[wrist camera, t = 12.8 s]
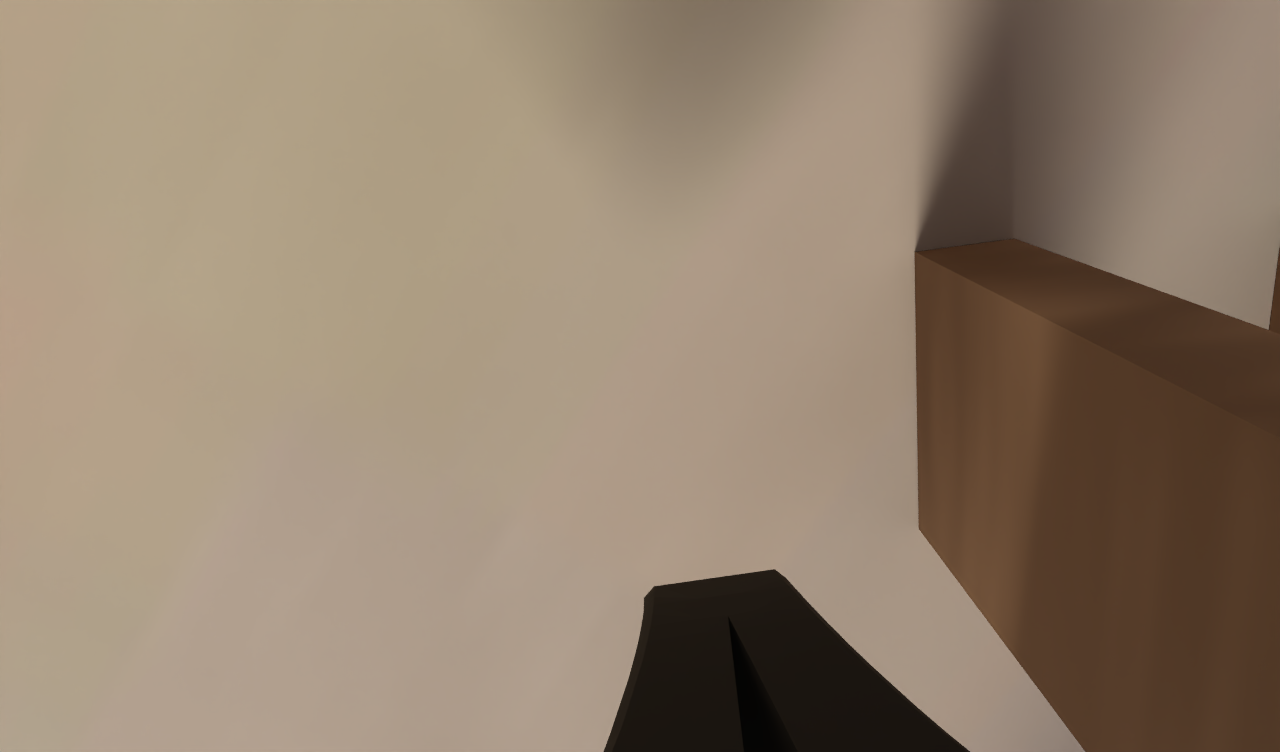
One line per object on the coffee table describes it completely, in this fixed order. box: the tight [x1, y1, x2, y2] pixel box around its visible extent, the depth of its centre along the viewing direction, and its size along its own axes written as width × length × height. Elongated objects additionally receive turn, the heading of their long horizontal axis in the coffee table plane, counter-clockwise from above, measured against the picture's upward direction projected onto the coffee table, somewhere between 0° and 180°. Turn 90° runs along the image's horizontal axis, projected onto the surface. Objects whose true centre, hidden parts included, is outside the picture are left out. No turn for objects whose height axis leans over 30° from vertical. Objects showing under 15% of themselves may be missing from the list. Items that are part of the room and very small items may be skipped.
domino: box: [915, 239, 1280, 752], centre depth 10 cm, size 2×5×8 cm, turn 7°
